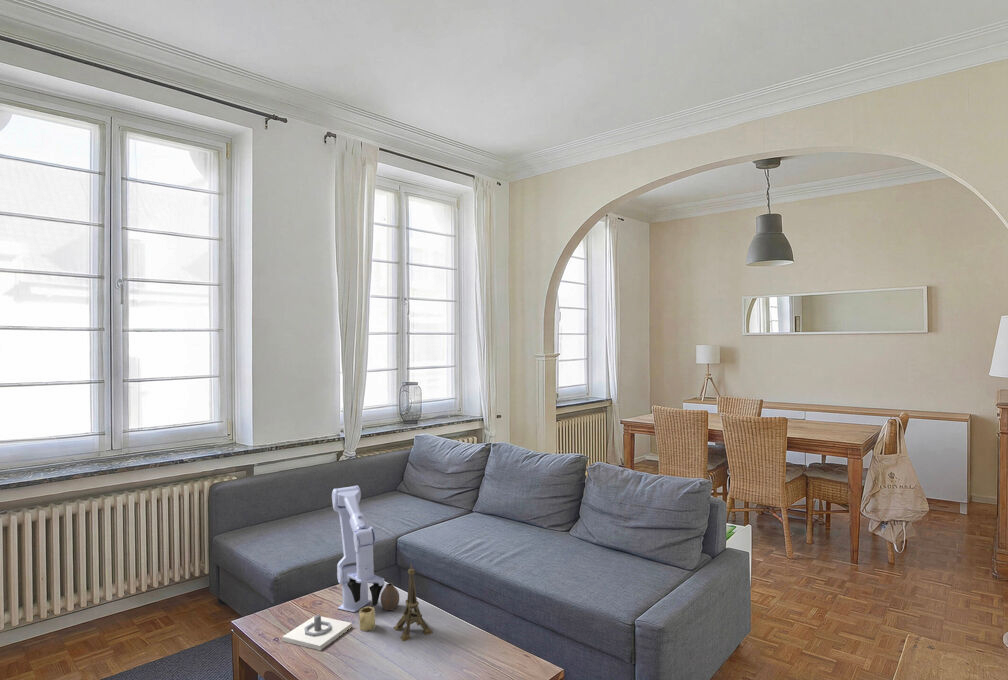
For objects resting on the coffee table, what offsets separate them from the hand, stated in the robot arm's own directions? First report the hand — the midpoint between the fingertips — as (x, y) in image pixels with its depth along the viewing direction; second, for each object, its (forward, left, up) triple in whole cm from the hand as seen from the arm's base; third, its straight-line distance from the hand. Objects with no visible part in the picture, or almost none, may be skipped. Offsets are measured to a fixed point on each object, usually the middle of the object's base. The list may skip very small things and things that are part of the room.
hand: (366, 603), depth 204 cm
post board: (+10, -13, -9) cm, 18 cm away
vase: (-15, -1, -9) cm, 18 cm away
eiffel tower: (-4, +16, -9) cm, 19 cm away
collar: (0, 0, -9) cm, 9 cm away
